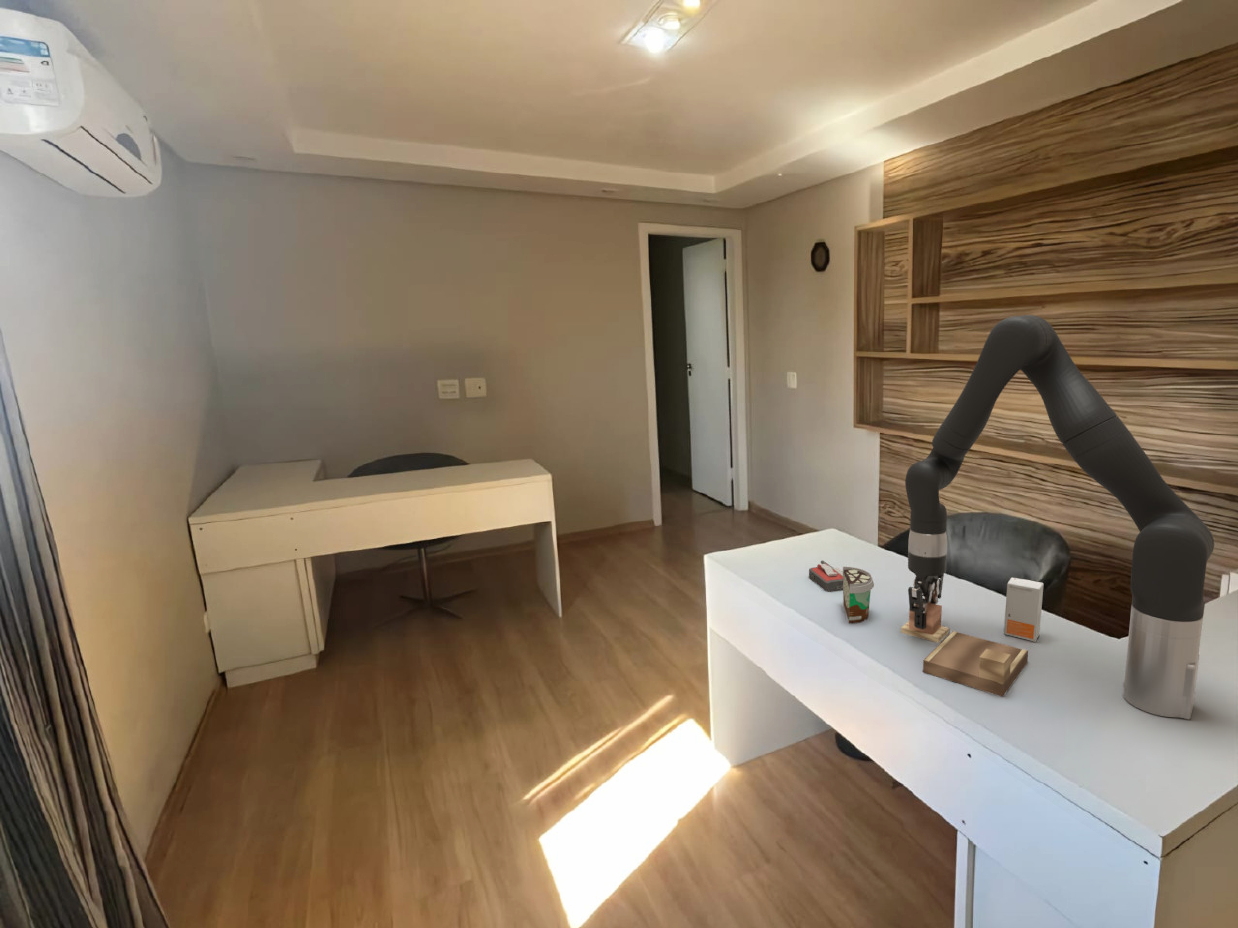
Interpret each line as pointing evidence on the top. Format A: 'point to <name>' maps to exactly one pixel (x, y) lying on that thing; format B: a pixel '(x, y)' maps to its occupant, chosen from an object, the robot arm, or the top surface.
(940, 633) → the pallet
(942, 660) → the dock
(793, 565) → the top surface
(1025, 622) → the skincare box
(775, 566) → the top surface
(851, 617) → the food container
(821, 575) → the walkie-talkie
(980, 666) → the light brown wooden cube
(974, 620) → the top surface
